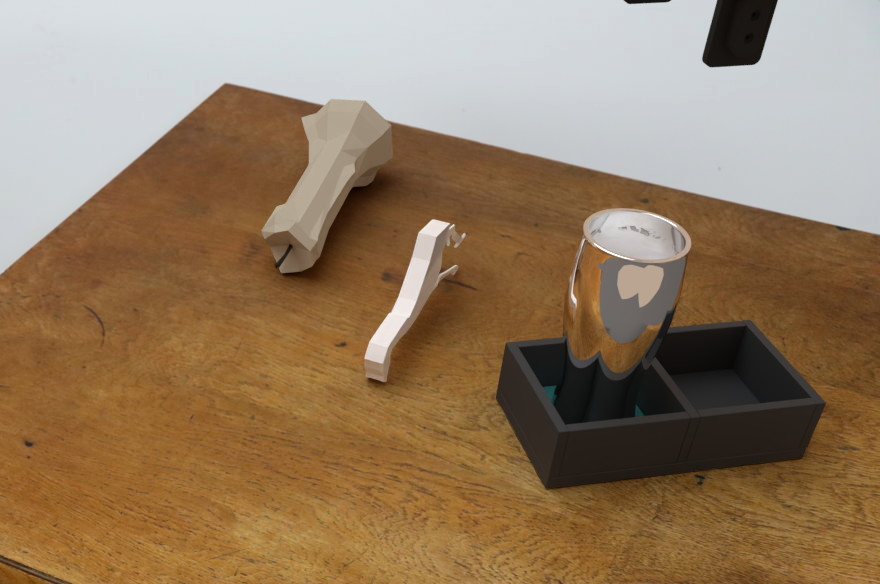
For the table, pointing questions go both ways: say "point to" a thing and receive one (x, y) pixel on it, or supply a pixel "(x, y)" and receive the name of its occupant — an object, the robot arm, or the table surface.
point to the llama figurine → (411, 294)
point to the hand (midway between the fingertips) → (685, 31)
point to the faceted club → (327, 179)
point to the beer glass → (617, 311)
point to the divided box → (666, 409)
